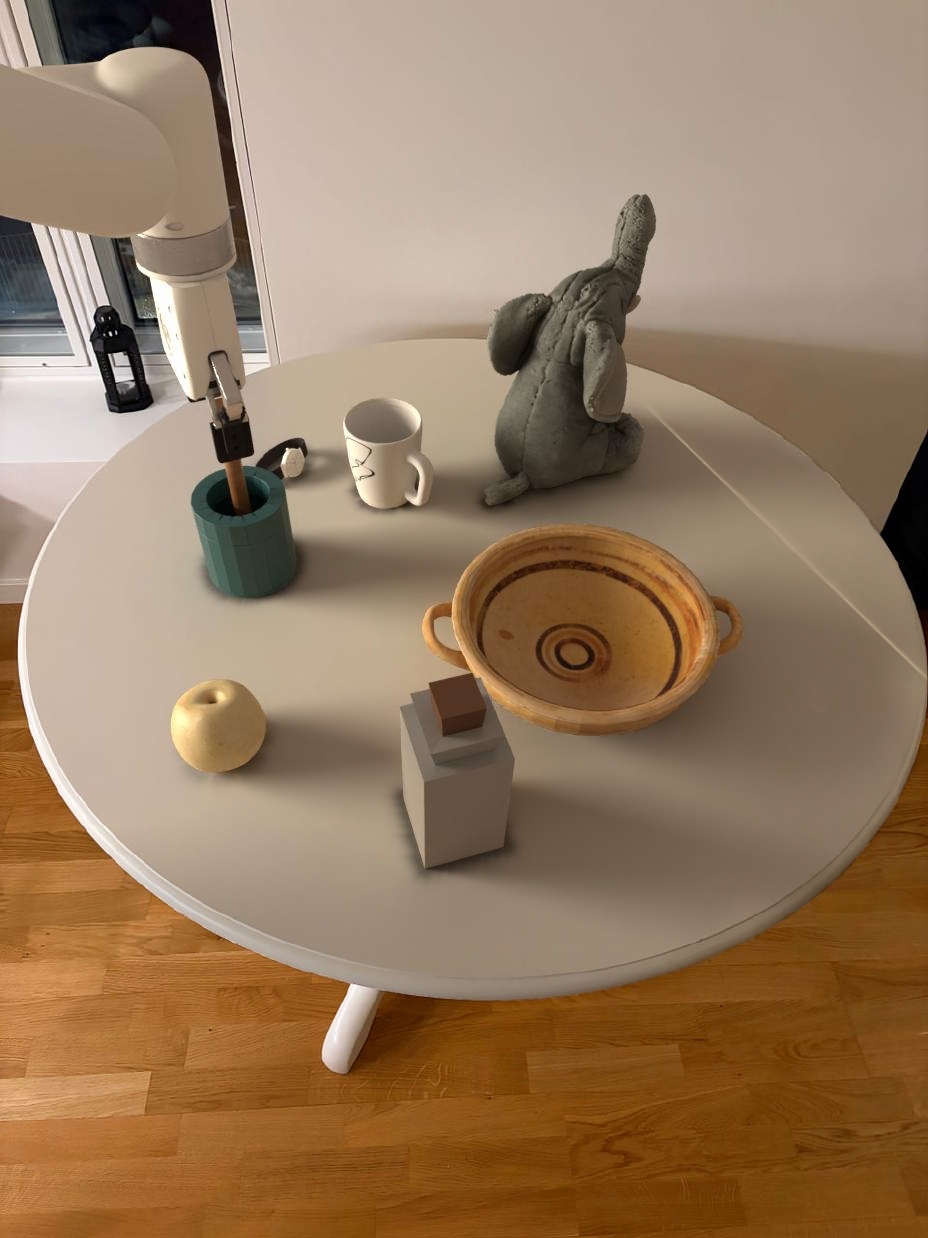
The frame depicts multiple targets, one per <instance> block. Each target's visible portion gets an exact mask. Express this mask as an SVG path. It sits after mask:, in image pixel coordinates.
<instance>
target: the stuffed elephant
mask: <svg viewBox="0 0 928 1238" xmlns="http://www.w3.org/2000/svg"><path fill="white" fill-rule="evenodd" d="M618 214H619V215H618V216H617V219H616V221H615V229H614V238H613V241H612V247H611V256H610V257H609V258H607V259H605V261H603V262H602V263H601V264H600V265H599V266H596V267H595V266H594V267H590V268H585V269H584V270H583V269H581V270H578V271H575V272H573V273H571V274H569V275H568V276H566V277H564V278H563V279H562V280H561V281H560V282H559V283H557V285H556V286H555V287H553V289H552V290H551V292H549V293H548V294H547V295H546V294H545V293H543V292H542V293H541V292H540V293H539V292H538V293H537V292H534V293H531V292H530V293H529V292H527V293H525V294H524V295H521V296H517V297H515V298H512V299H511V300H508V301H506V302H505V303H504V304H503V305H502V306H500V307H499V309H498V310H495V312H494V313H495V314H494V315H493V317H492V319H491V322H490V324H489V328H488V334H487V335H486V350H487V356H488V359H489V361H490V365H491V367H492V369H493V371H494V372H495V373H497V374H499V375H500V376H503V377H507V376H512V375H514V374H516V373H517V374H516V376H515V378H514V380H513V381H512V383H511V386H510V388H509V390H508V393H507V394H506V396H505V398H504V400H503V401H504V402H503V404H502V406H501V408H500V410H499V411H498V414H497V417H496V421H495V428H494V440H493V441H494V448H495V452H496V455H497V458H498V460H499V461H500V464H501V466H502V467H503V470H504V471H505V474H507V476H508V477H509V479H500V480H497V481H495V482H493V483H491V484H490V485H488V486H486V487H485V488H484V490H483V494H484V495H485V500H484V501H485V503H486V504H487V505H488V506H496V505H500V504H503V503H505V502H507V501H510V500H512V499H515V498H516V497H518V496H520V495H521V494H523V493H524V492H525V491H526V490H528V489H529V488H531V489H548V488H549V489H550V488H556V487H559V486H562V485H566V484H569V483H572V482H575V481H577V480H580V479H582V478H584V477H591V476H598V475H605V474H613V473H616V472H618V471H622V470H624V469H627V468H628V467H630V466H632V465H634V464H635V463H637V462H638V460H639V456H640V455H641V452H642V445H643V444H644V440H645V439H644V438H645V431H644V430H645V428H644V427H643V426H642V424H641V423H640V422H639V420H638V419H637V418H635V417H634V416H633V415H632V413H627V412H623V408H624V407H625V401H626V395H627V389H628V388H627V386H628V368H627V362H626V361H627V360H626V356H625V355H626V354H625V351H624V348H623V343H624V341H625V338H626V337H625V336H626V327H627V326H626V323H627V322H626V321H627V315H628V314H630V313H633V311H634V310H635V309H637V308H638V306H639V305H640V303H641V301H642V298H641V295H639V294H638V291H639V289H640V288H641V287H640V286H641V284H642V277H643V273H644V268H645V266H646V260H647V259H646V257H647V253H648V250H649V245H650V243H651V241H652V239H653V238H654V236H655V233H656V229H657V215H656V213H655V208H654V204H653V202H652V200H651V197H649V195H648V194H647V193H645V194H644V193H643V194H641V195H640V194H633V195H632V196H630V198H628V200H627V201H626V202H625V204H624V205H623V207H622V208H621V209H620V212H619V213H618Z"/></svg>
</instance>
